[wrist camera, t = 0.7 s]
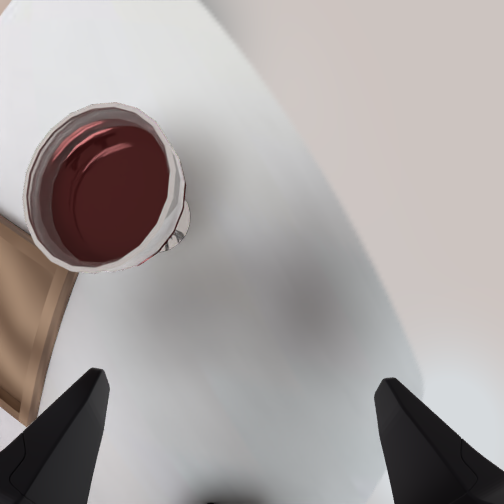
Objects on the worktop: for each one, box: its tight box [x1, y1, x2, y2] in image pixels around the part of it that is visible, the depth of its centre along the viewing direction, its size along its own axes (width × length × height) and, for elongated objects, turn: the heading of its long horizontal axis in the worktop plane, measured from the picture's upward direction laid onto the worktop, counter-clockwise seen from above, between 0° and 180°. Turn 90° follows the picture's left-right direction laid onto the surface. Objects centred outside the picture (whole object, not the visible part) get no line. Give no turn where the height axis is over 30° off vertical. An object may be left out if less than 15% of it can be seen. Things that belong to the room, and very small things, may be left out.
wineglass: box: [22, 102, 190, 274], centre depth 16 cm, size 7×7×12 cm
